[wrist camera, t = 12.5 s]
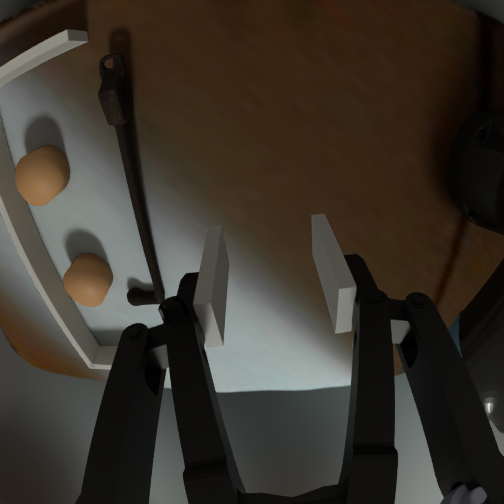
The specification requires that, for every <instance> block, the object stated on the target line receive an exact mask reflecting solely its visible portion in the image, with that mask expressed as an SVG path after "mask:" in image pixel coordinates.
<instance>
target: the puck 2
mask: <svg viewBox="0 0 504 504" xmlns="http://www.w3.org/2000/svg"><path fill="white" fill-rule="evenodd" d="M112 282H113V273H112V270H111V268H110V267H109V265H108V264H107V263H106V262H105V261H104V260H103V259H102V258H100V257H99V256H97V255H94V254H90V253H84V254H80V255H79V256H77V258H76V259H75V260H74V262H73V263H72V264H71V266H70V267H69V269H68V270H67V272H66V273H65V275H64V277H63V284H64V287H65V290H66V291H67V293H68V294H69V295H70V297H71V298H73V299H74V300H75V301H76V302H78V303H80V304H82V305H85V306H89V307H94V306H98V305H100V304H101V303H102V302H103V300H104V298H105V296H106V294H107V292H108V290H109V288H110V286H111V284H112Z"/></svg>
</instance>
